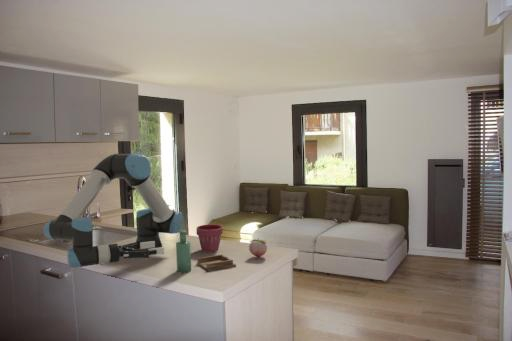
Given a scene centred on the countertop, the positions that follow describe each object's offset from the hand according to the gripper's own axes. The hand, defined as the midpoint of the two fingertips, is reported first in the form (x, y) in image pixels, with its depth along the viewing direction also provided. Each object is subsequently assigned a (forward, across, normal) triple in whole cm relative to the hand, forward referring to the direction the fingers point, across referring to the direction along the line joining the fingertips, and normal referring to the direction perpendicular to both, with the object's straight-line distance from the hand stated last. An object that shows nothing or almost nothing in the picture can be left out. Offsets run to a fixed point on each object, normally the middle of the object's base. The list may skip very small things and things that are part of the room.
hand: (159, 247), depth 178 cm
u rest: (+28, -1, -12) cm, 30 cm away
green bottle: (+12, -1, -13) cm, 17 cm away
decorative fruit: (+52, -2, -12) cm, 53 cm away
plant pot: (+36, -29, -12) cm, 48 cm away
